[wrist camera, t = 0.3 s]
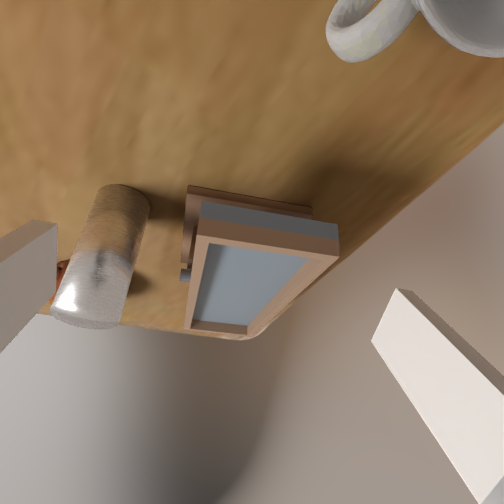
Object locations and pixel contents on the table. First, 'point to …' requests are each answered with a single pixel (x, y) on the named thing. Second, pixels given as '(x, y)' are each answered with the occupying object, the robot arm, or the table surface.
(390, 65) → the table surface
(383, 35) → the teacup
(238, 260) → the rectangular tray
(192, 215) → the fulcrum
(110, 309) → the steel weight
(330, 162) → the table surface
